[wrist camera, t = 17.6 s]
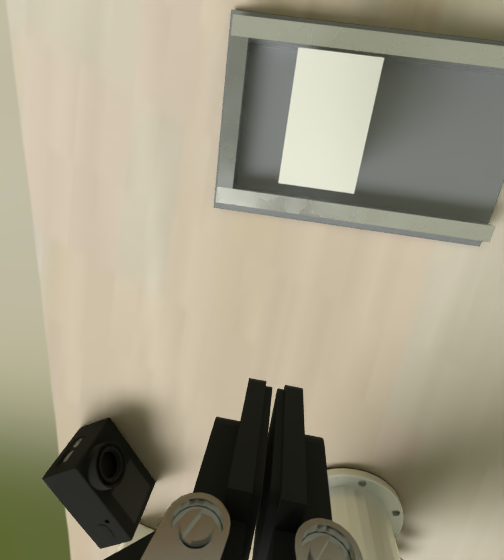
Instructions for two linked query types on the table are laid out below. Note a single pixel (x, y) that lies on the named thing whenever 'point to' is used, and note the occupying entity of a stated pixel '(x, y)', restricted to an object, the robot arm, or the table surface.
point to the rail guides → (352, 42)
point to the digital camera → (101, 483)
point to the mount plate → (386, 137)
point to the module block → (329, 119)
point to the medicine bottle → (137, 536)
